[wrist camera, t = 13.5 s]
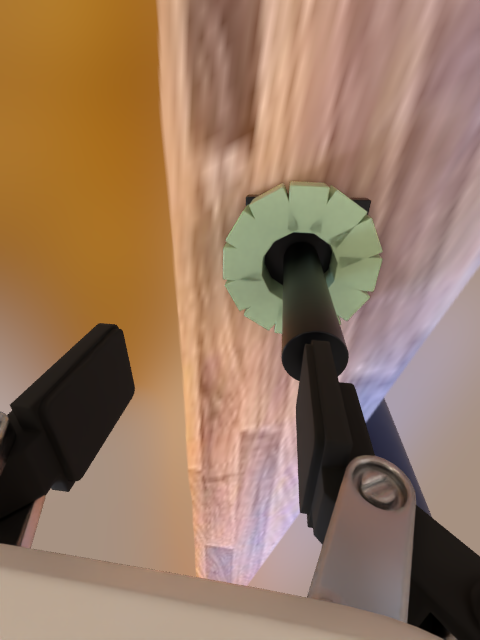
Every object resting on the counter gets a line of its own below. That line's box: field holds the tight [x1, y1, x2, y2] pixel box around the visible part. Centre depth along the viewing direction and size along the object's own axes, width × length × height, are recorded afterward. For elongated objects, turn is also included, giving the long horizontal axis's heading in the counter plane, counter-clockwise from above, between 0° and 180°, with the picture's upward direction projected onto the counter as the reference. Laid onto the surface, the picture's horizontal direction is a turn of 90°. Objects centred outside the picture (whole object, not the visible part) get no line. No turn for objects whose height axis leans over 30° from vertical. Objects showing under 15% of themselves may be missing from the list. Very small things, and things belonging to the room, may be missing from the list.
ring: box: [223, 181, 382, 334], centre depth 20 cm, size 10×10×3 cm
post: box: [246, 195, 371, 381], centre depth 17 cm, size 8×8×13 cm
